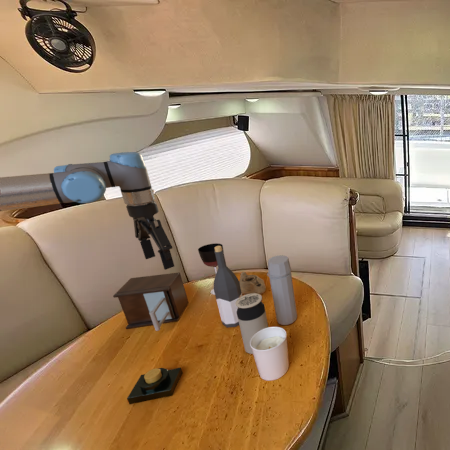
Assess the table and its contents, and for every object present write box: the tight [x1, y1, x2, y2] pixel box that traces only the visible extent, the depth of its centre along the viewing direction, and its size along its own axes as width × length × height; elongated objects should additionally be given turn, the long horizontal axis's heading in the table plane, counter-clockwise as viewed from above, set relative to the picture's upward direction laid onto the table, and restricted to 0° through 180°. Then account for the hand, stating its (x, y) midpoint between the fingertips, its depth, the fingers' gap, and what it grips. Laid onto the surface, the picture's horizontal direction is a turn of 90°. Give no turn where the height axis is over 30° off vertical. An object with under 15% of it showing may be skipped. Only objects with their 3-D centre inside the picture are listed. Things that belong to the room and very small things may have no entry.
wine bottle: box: [213, 246, 243, 328], centre depth 109 cm, size 8×8×30 cm
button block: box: [126, 367, 184, 405], centre depth 87 cm, size 10×8×4 cm
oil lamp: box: [239, 271, 267, 295], centre depth 130 cm, size 11×15×8 cm
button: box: [144, 367, 162, 384], centre depth 86 cm, size 4×4×2 cm
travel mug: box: [236, 293, 269, 355], centre depth 99 cm, size 8×8×18 cm
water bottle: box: [266, 254, 298, 326], centre depth 111 cm, size 9×8×25 cm
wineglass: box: [197, 242, 225, 296], centre depth 130 cm, size 8×9×20 cm
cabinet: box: [112, 272, 190, 330], centre depth 115 cm, size 16×12×14 cm
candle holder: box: [250, 326, 290, 382], centre depth 91 cm, size 10×10×12 cm
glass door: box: [143, 291, 175, 332], centre depth 107 cm, size 7×10×12 cm, turn 16°
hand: (159, 262), depth 106 cm, fingers open, 13 cm apart
